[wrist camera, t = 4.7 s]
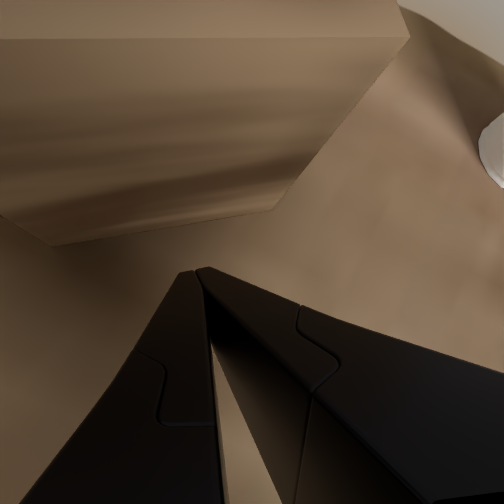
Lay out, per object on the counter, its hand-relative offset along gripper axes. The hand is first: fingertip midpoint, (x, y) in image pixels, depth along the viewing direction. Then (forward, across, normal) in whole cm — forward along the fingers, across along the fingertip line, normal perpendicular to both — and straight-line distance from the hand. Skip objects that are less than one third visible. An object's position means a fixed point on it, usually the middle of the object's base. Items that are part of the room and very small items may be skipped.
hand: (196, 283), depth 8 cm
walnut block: (+10, 0, -2) cm, 11 cm away
